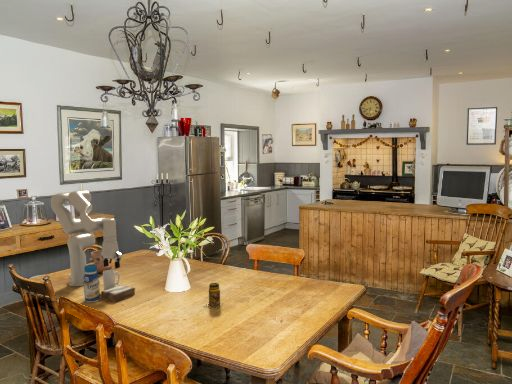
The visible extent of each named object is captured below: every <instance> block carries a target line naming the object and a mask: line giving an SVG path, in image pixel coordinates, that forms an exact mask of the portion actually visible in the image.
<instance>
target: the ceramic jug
mask: <svg viewBox="0 0 512 384" xmlns="http://www.w3.org/2000/svg"><path fill="white" fill-rule="evenodd" d="M101 252H102V249H100V250H99V249H98V250H95V251H92V252H90V256H91V257H89V259H88V260H89V261H93V262H94V263H93V264H95V265H97V271H96V272H97V273H98V274H103V271H106V270H112V268H113V265H112V261H113V259H109V260H108V262H109V266H107V267H104V260H103V258H102V256H101Z"/></svg>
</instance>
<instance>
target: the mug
mask: <svg viewBox="0 0 512 384" xmlns="http://www.w3.org/2000/svg"><path fill="white" fill-rule="evenodd" d="M116 276H117V281H116V280H115V279H116ZM120 278H121V277H120V274H119V271H117V270H116V271H115V270H114V269H111V270H106V271H103V273H102V280H103V281H102V282H103V291H104V290H107V289H110V288H113V287H115V286H118V285H119V282H120Z"/></svg>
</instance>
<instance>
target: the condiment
mask: <svg viewBox="0 0 512 384" xmlns="http://www.w3.org/2000/svg"><path fill="white" fill-rule="evenodd" d="M207 303H209V304H208V305H209V306H210V307H208V306H207ZM207 303H206V304H205V305H206V306H205V305H203V308H204V307H205V308H211V307H216V308H215V309H218V308H220V307H221V306H222V305H223V302H221V289H220V284H219V282H211V283H209V286H208V302H207ZM220 305H221V306H220ZM219 306H220V307H219ZM217 307H218V308H217Z"/></svg>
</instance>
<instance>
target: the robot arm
mask: <svg viewBox="0 0 512 384" xmlns="http://www.w3.org/2000/svg"><path fill="white" fill-rule="evenodd" d="M91 201H92V194H91V193H90V192H89V191H88V190H86V189H82V190H74V191H68V192H60V193H55V194H53V195H52V196H51V198H50V204H49V205H50V208H51V210H52V212H53V214H55V216H56V217H57V219H58V221H59V224H60V226H61V228H62V230H63V232H64V233H65V234H66V235H68V236H69V235H70V236H69V237H68V239H67V240H66V241H67V242H66V243H67V247H68V252H69V253H68V254H69V262H70V263H69V264H70V265H69V266H70V276H68V280H70V281H69V282H68V286H69V287H82V286H83V287H84V275H85V270H84V267H85V266H86V265H88V264H87V254H86V253H85V251H84V249H86V248H91V247H93V246H94V245H95V244H96V237H95V234H94V233H95V232H99V231H102V236H103V238H102V239H103V241H102V244H101V250H102V252H101V256H102V258H103V260H104V267H107V266H109V260H110V259H112V260H114V269H119V268H120V267H121V260H122V256H123V255H122V253H121V252H120V250H119V244H118V241H117V240H118V239H117V223H116V219H115V218H111V217H109V218H108V217H96V218H93V219H92V218H91V217H90V216H89V215H88V214H89V213H91V212H92V210H93V204H91ZM67 206H72V207H73V208H74V209H75V210H76V211H77V212H78V213H79V218H75V217H74V216H73V214H72V212H71V211H70V210H69V209H68V208H67Z"/></svg>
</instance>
